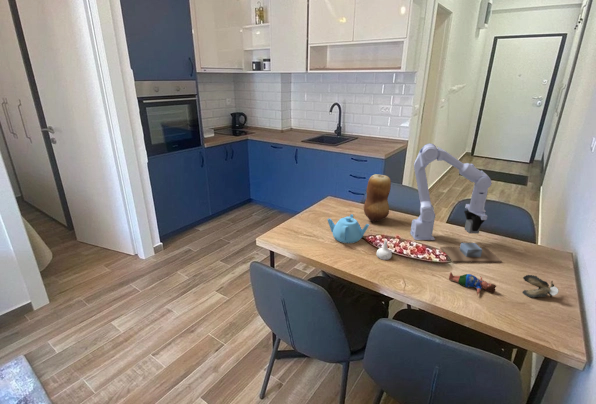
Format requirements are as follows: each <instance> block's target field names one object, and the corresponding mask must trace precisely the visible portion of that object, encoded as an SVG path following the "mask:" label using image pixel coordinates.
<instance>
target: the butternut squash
mask: <svg viewBox="0 0 596 404" xmlns="http://www.w3.org/2000/svg"><path fill="white" fill-rule="evenodd" d="M391 185H392V179H391V178H390V177H389V176H388V175H385V174H376V173H375V174H373V175H371V176H370V177H369V178H368V181H367V186H366V190H365V192H366V197H365V201H364V204H363V212H364V215H365V216H366V217H367V219H368V220H370V221H371V222H379V221H382V220H385V219H386V218H387V217H388V216H389V214H390V205H389V199H388V198H389V195H390V193H391Z"/></svg>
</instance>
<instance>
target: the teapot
mask: <svg viewBox="0 0 596 404" xmlns="http://www.w3.org/2000/svg"><path fill="white" fill-rule="evenodd" d="M327 223H328V225H329V228H330V231H331V233H332V236H333V238H334V239H335V240H336V241H337V242H339V243H343V244H355V243H357V242H359V241H360V240H361V239H362V238H363V237H364V234H366V231H367V230H368V228H369V227H370V224H369V223H366V224H365V225H364V227H363V228H362V227H361V225H360V224H359V222H358V220H357V219H355V218H354V214H349V216H348V215H347V216H345V217H341V218H339V220H338V221H337V222H336V224H335V222H334V221H333V219H332V218H327Z"/></svg>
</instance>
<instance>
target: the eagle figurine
mask: <svg viewBox="0 0 596 404" xmlns="http://www.w3.org/2000/svg"><path fill="white" fill-rule="evenodd" d="M522 279H523V281H525V282H527V283H529V284H530V285H532V286H534V287H537V288H536V289H524V290H523V291H522V294H523V295H524V296H526V297H529V298H538V297H540V298H541V297H542V298H545V297H547V296H548V295H549V297H550V298H553V297H554V296H556V295H558V293H559V289H558V287H557V286H555V284H554V283H553V280H551V281H550V287H549V283H548V282H547V281H545V280H543V279H542V278H540V277H538V276H537V275H533V274H526V275H524V276H523V277H522Z"/></svg>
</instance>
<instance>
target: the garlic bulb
mask: <svg viewBox="0 0 596 404" xmlns="http://www.w3.org/2000/svg"><path fill="white" fill-rule="evenodd" d="M375 254H376V257H377V258H378V259H380V260H383V261H388V260H391V258H392V257H393V256H392V254H393V253H392V251H391V249H389V248H388V240H387V239H384V241H383V244H382V247H380V248H378V249H377V251H376V253H375Z"/></svg>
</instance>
